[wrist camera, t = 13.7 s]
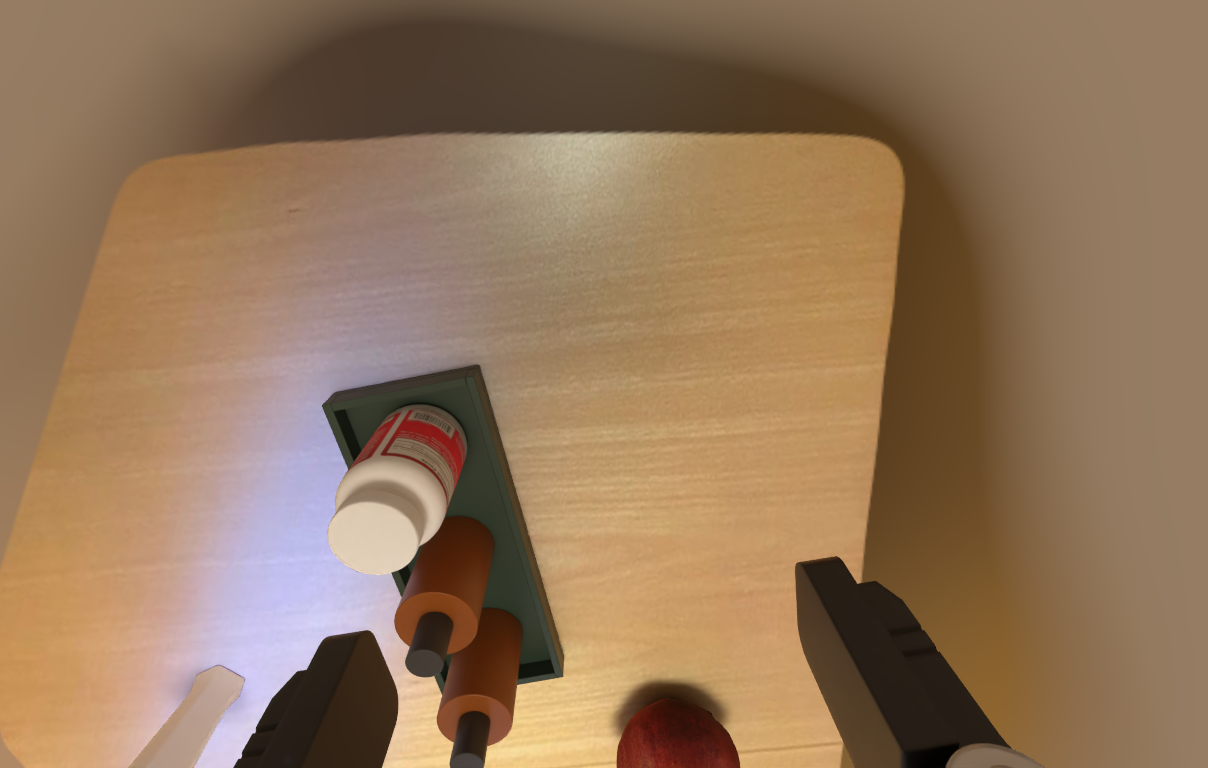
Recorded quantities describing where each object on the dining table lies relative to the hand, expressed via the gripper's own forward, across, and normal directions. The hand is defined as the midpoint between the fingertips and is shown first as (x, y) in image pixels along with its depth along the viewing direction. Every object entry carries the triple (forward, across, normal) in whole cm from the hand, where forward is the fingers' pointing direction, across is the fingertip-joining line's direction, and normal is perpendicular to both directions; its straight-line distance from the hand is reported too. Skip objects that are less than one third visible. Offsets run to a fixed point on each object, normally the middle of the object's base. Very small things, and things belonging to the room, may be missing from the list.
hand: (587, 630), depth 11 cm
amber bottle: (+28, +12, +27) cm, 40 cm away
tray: (+29, +12, +18) cm, 36 cm away
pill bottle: (+28, +13, +9) cm, 32 cm away
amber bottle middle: (+28, +12, +18) cm, 35 cm away
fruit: (+29, -1, +40) cm, 49 cm away
